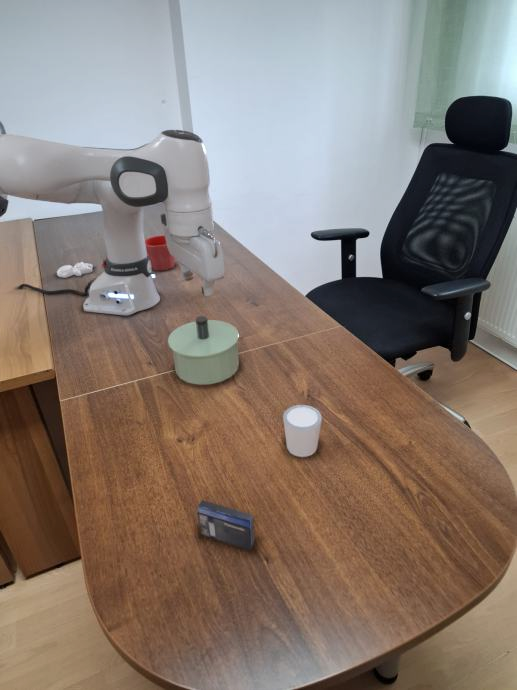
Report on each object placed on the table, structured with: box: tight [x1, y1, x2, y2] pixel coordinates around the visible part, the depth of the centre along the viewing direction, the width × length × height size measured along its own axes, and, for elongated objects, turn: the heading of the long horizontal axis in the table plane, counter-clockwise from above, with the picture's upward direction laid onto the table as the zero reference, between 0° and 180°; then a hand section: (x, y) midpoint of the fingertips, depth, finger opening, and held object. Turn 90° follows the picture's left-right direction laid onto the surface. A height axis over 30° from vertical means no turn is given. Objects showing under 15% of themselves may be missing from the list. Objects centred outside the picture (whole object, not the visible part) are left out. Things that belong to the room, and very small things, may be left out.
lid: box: [167, 315, 240, 357], centre depth 103 cm, size 16×16×6 cm
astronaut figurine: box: [56, 261, 94, 279], centre depth 162 cm, size 9×12×3 cm
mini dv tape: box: [197, 499, 256, 551], centre depth 68 cm, size 8×2×6 cm, turn 69°
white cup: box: [282, 404, 323, 458], centre depth 83 cm, size 7×7×7 cm
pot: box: [171, 342, 240, 386], centre depth 106 cm, size 15×15×8 cm
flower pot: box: [145, 235, 176, 272], centre depth 162 cm, size 11×11×10 cm
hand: (197, 286), depth 98 cm, fingers open, 8 cm apart
